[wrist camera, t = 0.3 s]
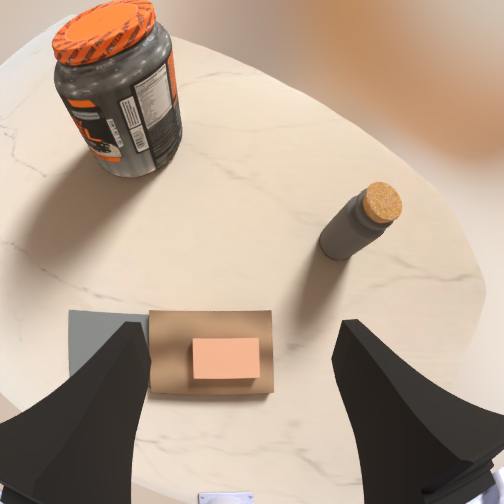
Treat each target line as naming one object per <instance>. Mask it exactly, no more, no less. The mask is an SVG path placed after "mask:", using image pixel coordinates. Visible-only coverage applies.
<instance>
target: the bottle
mask: <svg viewBox="0 0 504 504" xmlns="http://www.w3.org/2000/svg"><path fill="white" fill-rule="evenodd" d="M401 211H402V202H401V199H400V197H399V195H398V193H397V192H396V191H395V190H394V188H392V187H391V186H390V185H388V184H386V183H383V182H375V183H372V184H371V185H370V186H369V187H368V188H366V189H364V190H363V191H362V192H361V193H360V194H359V195H357V196H355V197H353V198H352V199H351V200H350V201H349V202H348V203H347V204H346V205H345V206H344V207H343V208H342V209H341V210H340V211H339V213H338V214H337V215H336V216H335V217H334V218H333V219H332V220H331V221H330V222H329V224H328V225H327V226H326V227H325V228H324V229H323V231H322V233H321V235H320V245H321V248H322V250H323V252H324V253H325V254H326V255H327V256H328V257H330V258H331V259H334V260H344V259H347V258H348V257H350V256H352V255H353V254H355V253H356V252H358V251H359V250H361V249H362V248H364V247H365V246H367V245H368V244H370V243H371V242H373V241H374V240H376V239H377V238H378V237H380V236H381V235H382V234H383V233H384V231H385V229H386V228H387V227H389V226H390V225H391V224H392V223H393V221H394V220H395V219H397V218H398V217H399V216H400V214H401Z"/></svg>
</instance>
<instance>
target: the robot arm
mask: <svg viewBox="0 0 504 504" xmlns="http://www.w3.org/2000/svg"><path fill="white" fill-rule="evenodd" d="M331 360H332V364H333V369H334V374H335V379H336V383H337V386H338V388H339V391H340V394H341V397H342V400H343V403H344V406H345V408H346V411H347V414H348V417H349V420H350V423H351V426H352V428H353V432H354V435H355V439H356V444H357V449H358V454H359V460H360V466H361V473H362V481H363V491H364V504H504V466H503V467H501V468H500V469H498V470H497V471H496V472H494V473H493V474H492V473H491V471H490V469H491V468H492V467H493V466H494V464H493V462H492V459H493V458H494V457H495V456H496V455H498V454H499V453H500V452H501V451H502V450H504V415H501V414H498V413H495V412H491V411H488V410H485V409H483V408H480V407H478V406H475V405H473V404H471V403H468V402H466V401H464V400H462V399H460V398H458V397H457V396H455V395H453V394H451V393H449V392H447V391H446V390H444V389H442V388H441V387H439V386H437V385H436V384H434V383H433V382H431V381H430V380H428V379H427V378H426V377H424V376H423V375H421V374H420V373H419V372H417V371H416V370H415V369H414V368H412V367H411V366H410V365H408V364H407V363H406V362H405V361H404V360H402V359H401V358H400V357H399V356H398V355H397V354H395V353H394V352H393V351H392V350H391V349H390V348H389V347H388V346H386V345H385V344H384V343H383V342H382V341H381V340H380V339H379V338H378V337H377V336H376V335H374V334H373V333H372V332H371V331H370V330H369V329H368V328H367V327H366V326H365V325H364V324H362V323H361V322H360V321H359V320H358V319H352V320H342V323H341V327H340V330H339V334H338V338H337V341H336V345H335V348H334V351H333V355H332V358H331ZM151 362H152V361H151V357H150V354H149V350H148V347H147V343H146V340H145V336H144V332H143V329H142V325H141V322H129V321H125V322H124V323H123V324H122V325H121V326H120V327H119V328H118V329H117V331H116V332H115V333H114V334H113V335H112V336H111V337H110V338H109V339H108V340H107V341H106V342H105V343H104V344H103V346H102V347H101V348H100V349H99V350H98V351H97V352H96V353H95V354H94V355H93V356H92V357H91V358H90V359H89V360H88V361H87V362H86V363H85V364H84V365H83V366H82V367H81V368H80V369H79V370H78V371H77V372H76V373H75V374H74V375H73V376H71V377H70V378H69V379H68V380H67V381H66V382H65V383H63V384H62V385H61V386H60V387H58V388H57V389H56V390H55V391H53V392H52V393H51V394H50V395H48V396H47V397H45V398H44V399H42V400H41V401H39V402H38V403H36V404H35V405H33V406H32V407H31V408H29V409H27V410H26V411H24V412H22V413H20V414H19V415H17V416H15V417H13V418H11V419H9V420H7V421H5V422H3V423H1V424H0V483H1V484H2V485H4V487H3V491H2V490H1V489H0V504H131V473H132V458H133V448H134V441H135V435H136V431H137V427H138V423H139V419H140V415H141V411H142V407H143V403H144V399H145V396H146V392H147V388H148V383H149V377H150V369H151ZM249 496H251V497H249ZM201 497H204V498H201ZM199 502H200V504H254V497H253V493H252V492H229V493H208V492H201V493H199Z"/></svg>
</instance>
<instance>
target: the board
mask: <svg viewBox="0 0 504 504" xmlns="http://www.w3.org/2000/svg"><path fill="white" fill-rule="evenodd" d="M193 338H259V362H260V378H234V379H194V370H193ZM149 354H150V357H151V361H152V362H151V369H150V382H151V392H155V393H171V394H197V395H232V394H259V393H274V376H273V342H272V313H271V310H268V311H156V310H149Z"/></svg>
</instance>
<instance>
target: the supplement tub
mask: <svg viewBox="0 0 504 504" xmlns="http://www.w3.org/2000/svg"><path fill="white" fill-rule="evenodd" d="M155 20H156V15H155V13H154V8H153V5H152V3H151V2H150V1H148V0H115V1H111V2H107V3H104V4H101V5H99V6H96V7H94V8H92V9H89V10H87V11H85V12H84V13H81V14H80V15H78V16H76V17H75V18H73V19H72V20H71V21H69V22H68V23H67V24H65V25H64V26H63V27H62V28H61V29H60V30H59V31H58V32H57V34H56V35H55V37H54V39H53V41H52V47H53V50H54V55H55V58H56V59H57V60H58V61H57V63H56V66H55V71H54V83H55V87H56V89H57V92H58V93H59V95H60V97H61V99H62V101H63V103H64V104H65V106H66V108H67V110H68V112H69V113H70V115H71V117H72V119H73V120H74V122H75V124H76V126H77V127H78V129H79V131H80V132H81V134H82V136H83V138H84V139H85V141H86V143H87V144H88V146H89V148H90V150H91V151H92V153H93V154H94V156H95V158H96V159H97V161H98V163H99V164H100V165H101V166H102V167H103V168H104V169H105V170H106V171H108V172H110V173H112V174H114V175H117V176H121V177H138V176H143V175H146V174H149V173H151V172H153V171H155V170H157V169H159V168H160V167H161V166H163V165H164V164H165V163H167V162H168V161H169V160H170V159H171V157H172V156H173V155H174V154H175V152H176V151H177V149H178V147H179V144H180V142H181V139H182V122H181V116H180V109H179V102H178V94H177V86H176V79H175V70H174V61H173V52H172V42H171V38H170V36H169V34H168V32H167V30H166V29H165V28H164V27H163V26H162V25H161V24H160V23H158V22H156V21H155Z"/></svg>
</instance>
